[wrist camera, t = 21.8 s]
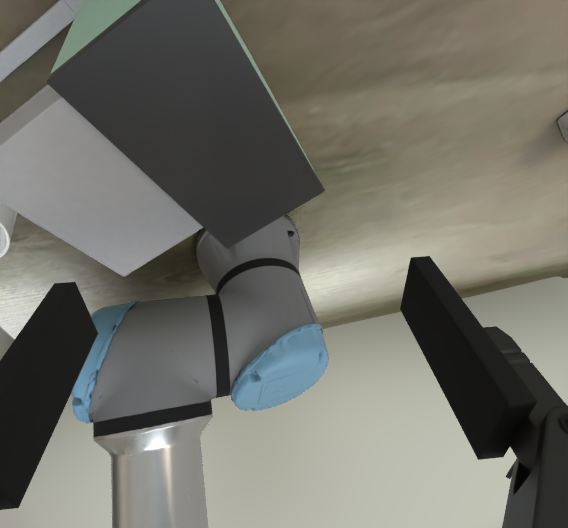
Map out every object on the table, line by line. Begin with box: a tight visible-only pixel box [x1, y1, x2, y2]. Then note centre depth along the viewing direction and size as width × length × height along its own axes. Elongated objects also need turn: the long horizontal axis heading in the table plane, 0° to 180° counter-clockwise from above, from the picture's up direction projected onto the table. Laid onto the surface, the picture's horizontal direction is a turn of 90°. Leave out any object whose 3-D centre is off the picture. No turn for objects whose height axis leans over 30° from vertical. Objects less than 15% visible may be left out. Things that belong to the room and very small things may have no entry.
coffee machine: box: [0, 0, 325, 277], centre depth 26 cm, size 20×12×23 cm, turn 118°
